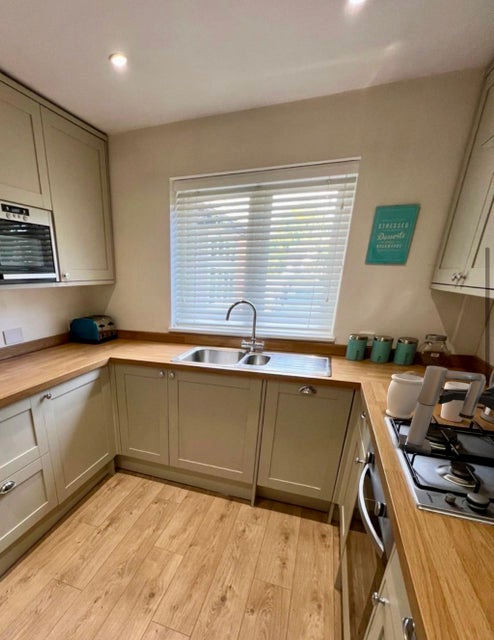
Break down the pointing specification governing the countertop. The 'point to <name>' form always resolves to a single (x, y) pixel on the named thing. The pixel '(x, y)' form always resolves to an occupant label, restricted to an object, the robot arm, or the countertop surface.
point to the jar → (403, 395)
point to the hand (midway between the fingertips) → (467, 407)
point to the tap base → (414, 447)
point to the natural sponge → (412, 373)
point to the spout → (438, 374)
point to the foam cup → (453, 403)
